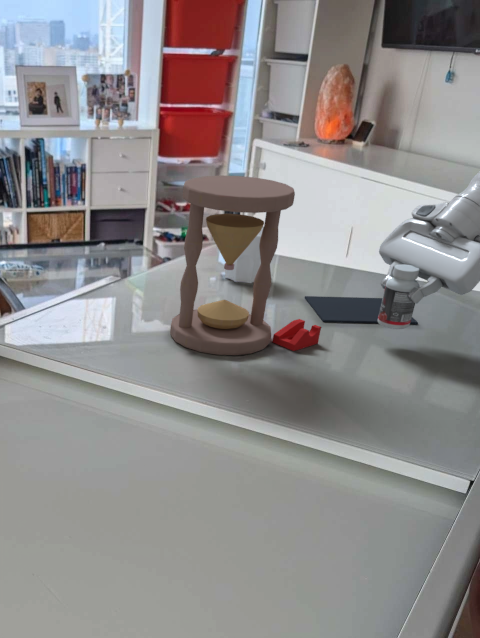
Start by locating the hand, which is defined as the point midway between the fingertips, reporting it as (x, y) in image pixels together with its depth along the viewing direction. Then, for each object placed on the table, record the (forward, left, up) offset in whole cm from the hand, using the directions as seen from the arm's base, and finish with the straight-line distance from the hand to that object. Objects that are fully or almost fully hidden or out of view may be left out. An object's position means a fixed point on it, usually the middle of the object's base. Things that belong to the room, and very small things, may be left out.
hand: (397, 293), depth 128 cm
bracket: (+16, 0, -9) cm, 18 cm away
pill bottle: (-1, 0, -6) cm, 6 cm away
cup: (+18, -38, -9) cm, 43 cm away
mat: (-1, -18, -9) cm, 20 cm away
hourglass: (+29, -2, -9) cm, 30 cm away
